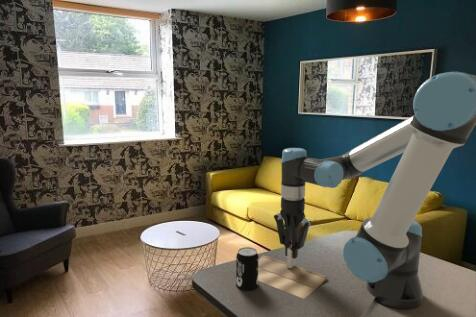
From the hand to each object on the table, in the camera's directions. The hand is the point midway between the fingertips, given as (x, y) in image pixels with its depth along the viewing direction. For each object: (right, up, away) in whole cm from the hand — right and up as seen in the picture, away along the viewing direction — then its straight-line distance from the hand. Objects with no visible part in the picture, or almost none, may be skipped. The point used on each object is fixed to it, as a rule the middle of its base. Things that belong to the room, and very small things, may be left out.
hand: (291, 266), depth 118 cm
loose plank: (-1, -2, -2) cm, 3 cm away
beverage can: (-15, -4, -10) cm, 18 cm away
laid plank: (-6, -3, -7) cm, 10 cm away
